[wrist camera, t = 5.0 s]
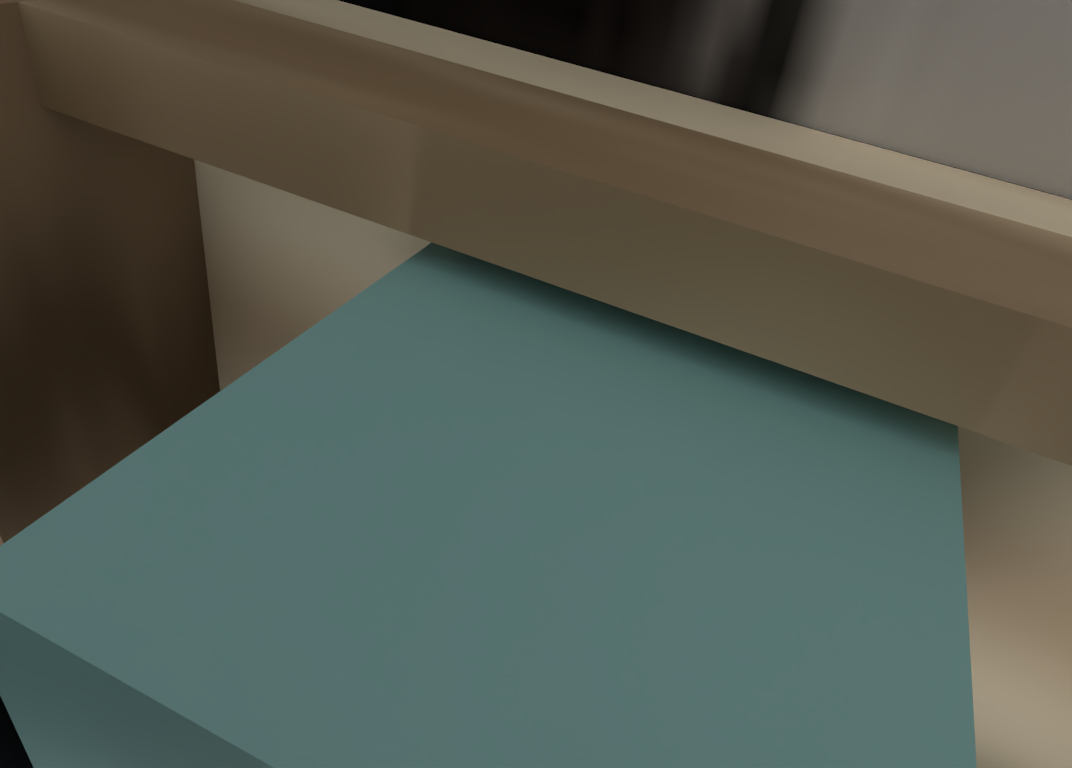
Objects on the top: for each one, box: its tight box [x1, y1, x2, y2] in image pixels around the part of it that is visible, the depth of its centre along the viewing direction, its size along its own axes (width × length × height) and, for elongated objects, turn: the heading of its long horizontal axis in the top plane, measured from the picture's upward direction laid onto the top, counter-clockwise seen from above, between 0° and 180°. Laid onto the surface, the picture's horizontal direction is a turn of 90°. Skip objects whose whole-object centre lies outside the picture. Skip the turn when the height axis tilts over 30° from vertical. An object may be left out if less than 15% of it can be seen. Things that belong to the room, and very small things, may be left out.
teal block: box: [0, 243, 977, 768], centre depth 7 cm, size 6×5×6 cm
